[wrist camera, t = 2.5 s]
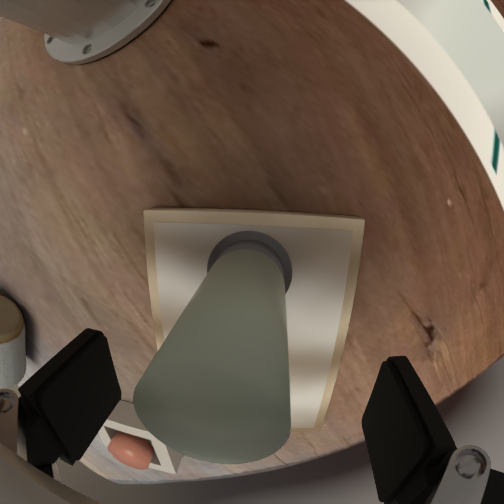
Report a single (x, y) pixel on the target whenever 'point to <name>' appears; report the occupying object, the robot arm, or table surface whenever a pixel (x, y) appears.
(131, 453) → the button
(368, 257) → the table surface
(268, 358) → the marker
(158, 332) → the board
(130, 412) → the button housing
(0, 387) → the ceramic mug
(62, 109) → the table surface
